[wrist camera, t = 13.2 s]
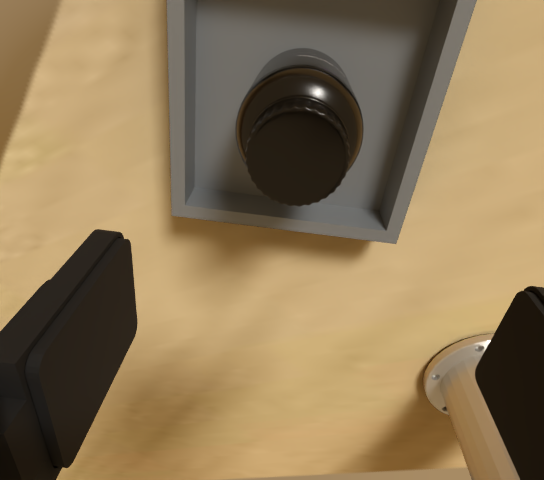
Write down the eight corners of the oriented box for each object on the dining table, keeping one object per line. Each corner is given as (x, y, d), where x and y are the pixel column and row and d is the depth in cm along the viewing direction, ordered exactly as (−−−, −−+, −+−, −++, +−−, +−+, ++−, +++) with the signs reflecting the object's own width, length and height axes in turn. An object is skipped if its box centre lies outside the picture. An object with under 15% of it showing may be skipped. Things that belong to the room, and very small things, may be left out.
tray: (465, -43, 24) (492, -47, 21) (386, 218, 34) (396, 244, 30) (183, -81, 24) (164, -92, 21) (184, 192, 34) (171, 215, 30)
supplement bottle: (342, 33, 26) (369, 63, 16) (355, 136, 29) (383, 214, 19) (240, 59, 27) (204, 101, 17) (263, 154, 31) (245, 237, 20)
